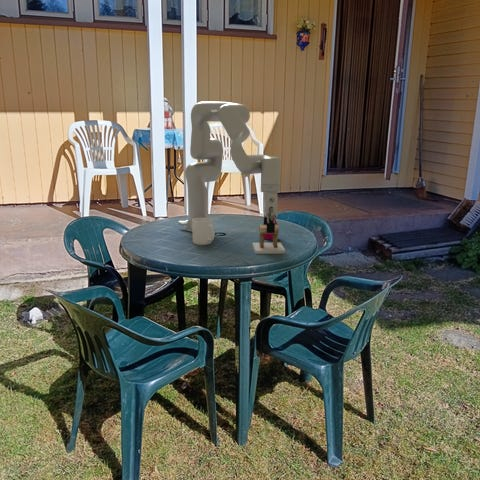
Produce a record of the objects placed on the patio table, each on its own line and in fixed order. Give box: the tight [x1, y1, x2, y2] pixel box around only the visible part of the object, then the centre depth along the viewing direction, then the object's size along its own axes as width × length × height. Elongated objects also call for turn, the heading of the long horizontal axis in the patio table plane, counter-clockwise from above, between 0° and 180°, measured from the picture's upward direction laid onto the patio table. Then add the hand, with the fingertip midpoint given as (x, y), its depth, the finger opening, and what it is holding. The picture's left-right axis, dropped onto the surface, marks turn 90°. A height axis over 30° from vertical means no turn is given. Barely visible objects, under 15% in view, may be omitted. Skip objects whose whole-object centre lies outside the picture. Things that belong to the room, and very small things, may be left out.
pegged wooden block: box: [258, 224, 280, 248], centre depth 202 cm, size 5×8×8 cm, turn 94°
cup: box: [192, 217, 216, 246], centre depth 209 cm, size 8×12×10 cm
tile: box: [252, 242, 286, 255], centre depth 203 cm, size 12×12×1 cm
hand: (268, 229), depth 201 cm, fingers open, 9 cm apart
